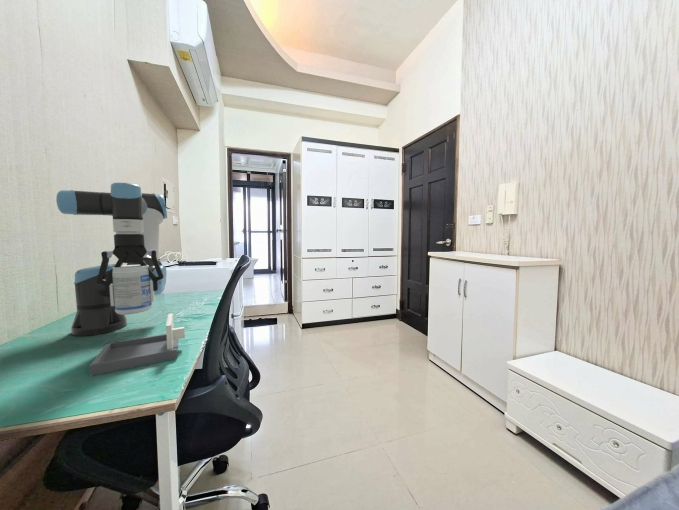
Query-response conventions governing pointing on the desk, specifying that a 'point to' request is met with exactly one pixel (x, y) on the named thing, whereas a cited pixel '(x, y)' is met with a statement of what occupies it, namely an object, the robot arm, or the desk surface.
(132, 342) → the gray tray
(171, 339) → the pusher
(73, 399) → the desk surface
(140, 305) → the supplement tub
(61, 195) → the robot arm
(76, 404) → the desk surface
